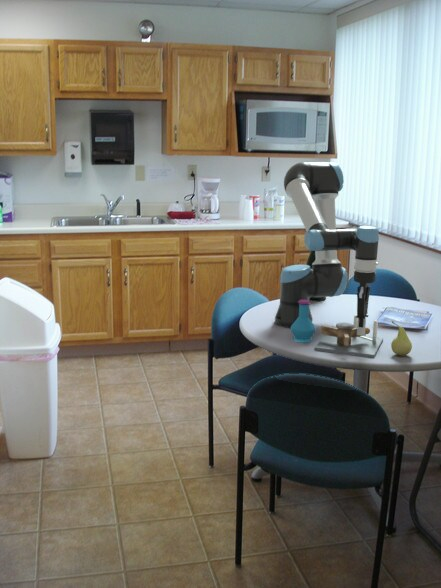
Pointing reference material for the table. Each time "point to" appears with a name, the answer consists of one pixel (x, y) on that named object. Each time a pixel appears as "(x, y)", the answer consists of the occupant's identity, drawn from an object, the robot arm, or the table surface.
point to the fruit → (401, 342)
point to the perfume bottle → (303, 324)
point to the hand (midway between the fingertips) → (360, 334)
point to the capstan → (342, 332)
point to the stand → (352, 343)
